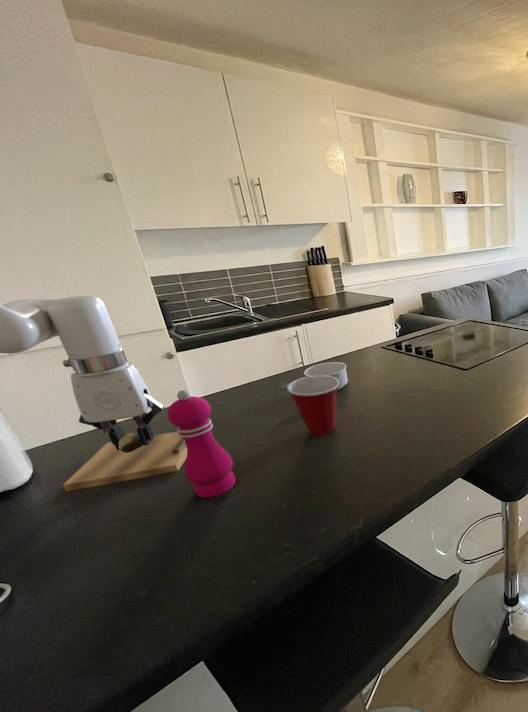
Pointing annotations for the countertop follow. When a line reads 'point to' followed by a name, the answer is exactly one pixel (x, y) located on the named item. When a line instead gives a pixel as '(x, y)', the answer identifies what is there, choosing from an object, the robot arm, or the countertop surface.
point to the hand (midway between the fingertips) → (135, 443)
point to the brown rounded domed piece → (130, 442)
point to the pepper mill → (201, 446)
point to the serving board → (131, 462)
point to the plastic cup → (316, 402)
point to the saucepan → (327, 372)
